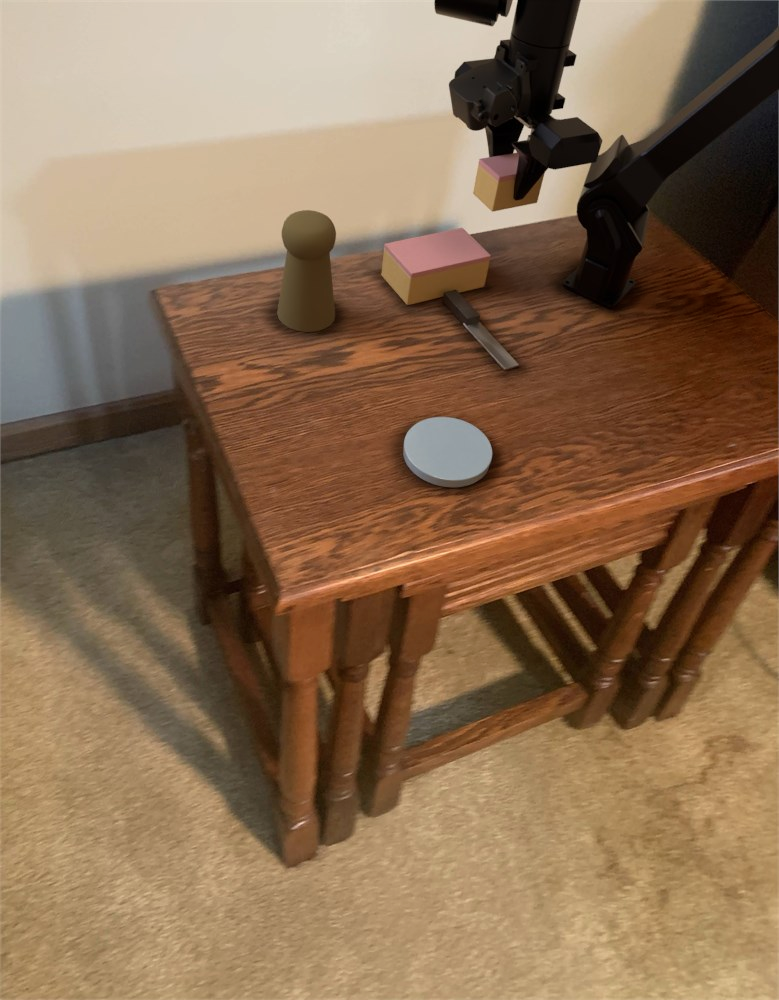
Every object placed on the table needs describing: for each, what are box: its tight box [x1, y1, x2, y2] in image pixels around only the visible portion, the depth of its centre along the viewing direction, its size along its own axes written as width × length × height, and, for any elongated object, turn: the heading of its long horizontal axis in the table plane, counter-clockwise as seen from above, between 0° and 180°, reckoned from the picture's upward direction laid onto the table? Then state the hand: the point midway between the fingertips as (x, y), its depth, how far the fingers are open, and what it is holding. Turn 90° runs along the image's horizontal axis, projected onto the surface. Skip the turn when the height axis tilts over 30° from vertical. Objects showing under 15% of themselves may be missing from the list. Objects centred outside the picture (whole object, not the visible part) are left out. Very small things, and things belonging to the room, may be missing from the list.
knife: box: [442, 290, 520, 372], centre depth 88 cm, size 2×12×1 cm, turn 28°
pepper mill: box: [276, 209, 337, 333], centre depth 83 cm, size 6×6×11 cm
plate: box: [402, 416, 493, 488], centre depth 75 cm, size 8×8×1 cm
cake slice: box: [472, 152, 546, 213], centre depth 91 cm, size 4×6×4 cm, turn 118°
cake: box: [381, 227, 492, 306], centre depth 92 cm, size 6×10×4 cm, turn 118°
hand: (506, 189), depth 91 cm, fingers closed on cake slice, 4 cm apart
